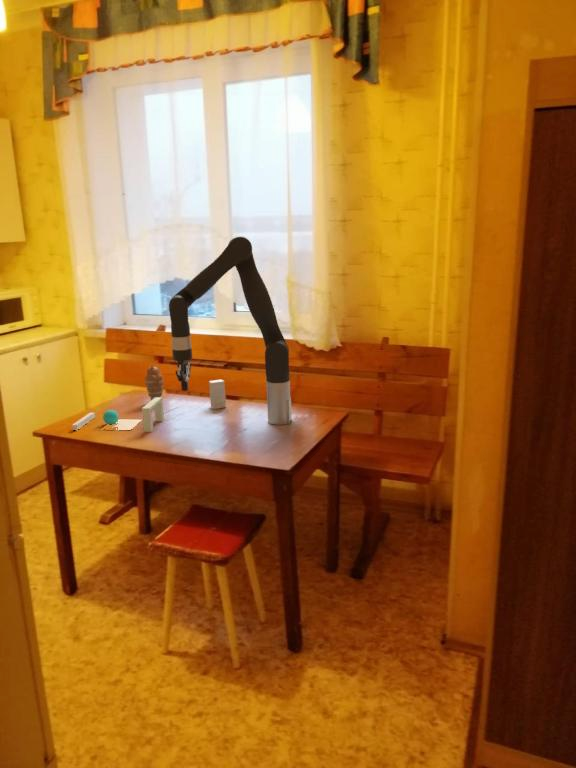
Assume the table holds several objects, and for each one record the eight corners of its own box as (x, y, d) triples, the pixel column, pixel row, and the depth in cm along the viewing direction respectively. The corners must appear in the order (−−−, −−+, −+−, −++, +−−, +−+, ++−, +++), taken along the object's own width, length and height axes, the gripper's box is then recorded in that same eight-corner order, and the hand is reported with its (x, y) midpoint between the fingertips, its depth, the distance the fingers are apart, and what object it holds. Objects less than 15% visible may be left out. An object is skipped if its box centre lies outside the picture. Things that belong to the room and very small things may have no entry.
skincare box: (223, 404, 267) (222, 379, 264) (226, 407, 263) (224, 381, 260) (210, 406, 265) (208, 380, 261) (213, 409, 261) (211, 382, 258)
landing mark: (142, 420, 249) (142, 419, 249) (130, 430, 237) (130, 430, 236) (112, 419, 251) (112, 419, 251) (99, 430, 238) (99, 429, 238)
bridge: (164, 419, 249) (162, 397, 246) (151, 432, 234) (149, 408, 232) (157, 419, 249) (155, 397, 247) (144, 431, 235) (141, 408, 232)
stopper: (95, 418, 253) (94, 412, 253) (77, 430, 238) (76, 425, 237) (90, 418, 254) (90, 412, 253) (72, 430, 238) (72, 424, 238)
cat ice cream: (161, 406, 267) (158, 367, 262) (144, 406, 268) (140, 367, 263) (167, 400, 276) (164, 362, 271) (151, 400, 276) (147, 362, 272)
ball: (112, 423, 248) (123, 417, 247) (105, 429, 243) (117, 423, 241) (104, 411, 247) (115, 405, 246) (97, 416, 242) (109, 410, 240)
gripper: (186, 350, 224) (189, 395, 229) (196, 344, 237) (198, 386, 242) (166, 350, 225) (170, 395, 230) (177, 344, 238) (181, 385, 243)
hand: (185, 390), depth 236 cm, fingers closed
